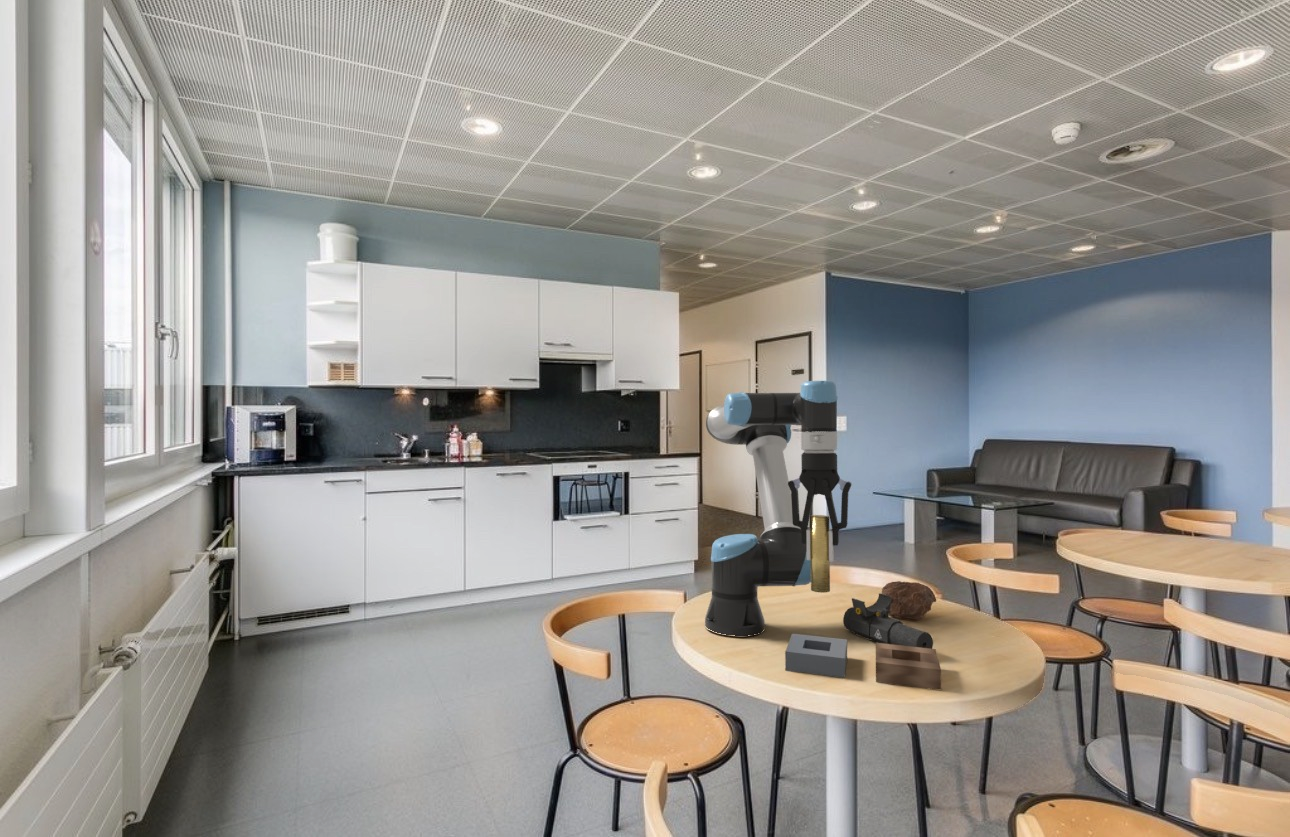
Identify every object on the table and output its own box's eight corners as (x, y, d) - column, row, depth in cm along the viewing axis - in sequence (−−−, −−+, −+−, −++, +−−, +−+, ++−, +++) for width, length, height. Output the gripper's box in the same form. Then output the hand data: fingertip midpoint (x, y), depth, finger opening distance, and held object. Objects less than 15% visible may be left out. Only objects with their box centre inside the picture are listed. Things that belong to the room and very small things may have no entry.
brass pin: (809, 591, 136) (809, 517, 136) (811, 587, 139) (811, 514, 140) (829, 593, 134) (828, 517, 134) (830, 588, 138) (830, 515, 138)
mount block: (785, 670, 134) (785, 651, 134) (792, 651, 145) (792, 633, 145) (844, 677, 129) (844, 658, 129) (847, 657, 141) (847, 639, 141)
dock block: (875, 681, 127) (875, 662, 127) (875, 660, 139) (875, 642, 139) (941, 690, 123) (940, 669, 123) (935, 667, 134) (935, 649, 134)
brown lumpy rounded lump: (942, 619, 168) (941, 581, 168) (919, 627, 161) (919, 588, 161) (896, 608, 178) (896, 572, 178) (873, 615, 171) (873, 578, 172)
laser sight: (909, 662, 138) (909, 617, 138) (834, 632, 158) (834, 592, 158) (939, 655, 143) (938, 610, 143) (862, 626, 162) (862, 588, 163)
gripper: (777, 452, 137) (777, 560, 136) (859, 452, 131) (860, 566, 130) (782, 450, 144) (783, 553, 143) (861, 451, 138) (862, 559, 137)
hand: (820, 559), depth 137 cm, fingers closed on brass pin, 4 cm apart
